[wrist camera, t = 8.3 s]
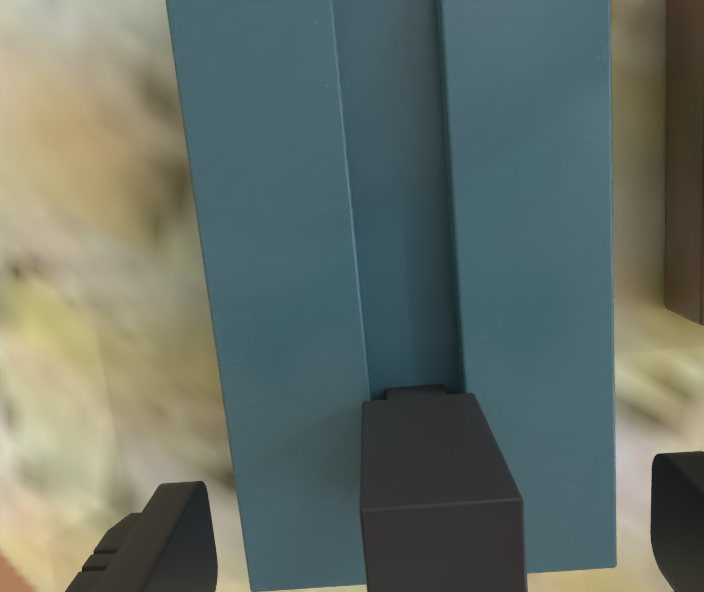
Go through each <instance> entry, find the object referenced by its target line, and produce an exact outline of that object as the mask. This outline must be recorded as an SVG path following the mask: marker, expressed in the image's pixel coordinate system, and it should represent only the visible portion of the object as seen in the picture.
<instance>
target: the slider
mask: <svg viewBox="0 0 704 592" xmlns="http://www.w3.org/2000/svg"><path fill="white" fill-rule="evenodd" d="M385 392H386V400H375V401H364V402H363V403H362V427H361V465H360V502H359V515H360V525H361V534H362V544H363V554H364V564H365V574H366V583H367V592H528V590H527V567H526V544H525V521H524V500H523V498H522V496H521V493H520V491H519V489H518V487H517V485H516V483H515V480H514V478H513V476H512V474H511V472H510V470H509V467H508V465H507V463H506V461H505V459H504V457H503V454H502V452H501V450H500V448H499V446H498V444H497V441H496V439H495V437H494V435H493V433H492V431H491V428H490V426H489V424H488V422H487V420H486V418H485V415H484V413H483V411H482V409H481V407H480V405H479V402H478V400H477V398H476V396H475V394H474V393H462V394H449V395H448V394H447V391H446V388H445V386H444V384H432V385H420V386H407V387H395V388H387V389H386V391H385Z"/></svg>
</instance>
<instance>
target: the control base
mask: <svg viewBox="0 0 704 592" xmlns="http://www.w3.org/2000/svg"><path fill="white" fill-rule="evenodd" d="M166 7H167V14H168V21H169V28H170V35H171V42H172V49H173V56H174V63H175V70H176V77H177V83H178V90H179V97H180V104H181V111H182V118H183V125H184V132H185V139H186V146H187V153H188V160H189V167H190V174H191V180H192V187H193V194H194V201H195V208H196V215H197V222H198V229H199V236H200V243H201V250H202V257H203V264H204V270H205V277H206V284H207V291H208V298H209V305H210V312H211V319H212V326H213V333H214V340H215V347H216V354H217V361H218V367H219V374H220V381H221V388H222V395H223V402H224V409H225V416H226V423H227V430H228V437H229V444H230V451H231V458H232V464H233V471H234V478H235V485H236V492H237V499H238V506H239V513H240V520H241V527H242V534H243V541H244V548H245V554H246V561H247V568H248V575H249V582H250V589H251V591H252V592H261V591H275V590H290V589H305V588H320V587H335V586H350V585H364V584H367V583H366V574H365V564H364V554H363V544H362V534H361V525H360V515H359V502H360V465H361V427H362V403H363V402H364V401H375V400H386V392H385V391H386V389H387V388H395V387H407V386H420V385H432V384H444V386H445V388H446V391H447V394H448V395H449V394H462V393H474V394H475V396H476V398H477V400H478V402H479V405H480V407H481V409H482V411H483V413H484V415H485V418H486V420H487V422H488V424H489V426H490V428H491V431H492V433H493V435H494V437H495V439H496V441H497V444H498V446H499V448H500V450H501V452H502V454H503V457H504V459H505V461H506V463H507V465H508V467H509V470H510V472H511V474H512V476H513V478H514V480H515V483H516V485H517V487H518V489H519V491H520V493H521V496H522V498H523V500H524V521H525V544H526V567H527V573H541V572H556V571H571V570H586V569H601V568H614V567H616V565H617V555H616V466H615V376H614V286H613V197H612V107H611V17H610V0H166Z"/></svg>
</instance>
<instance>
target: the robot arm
mask: <svg viewBox="0 0 704 592" xmlns="http://www.w3.org/2000/svg"><path fill="white" fill-rule="evenodd" d="M651 544H652V549H653V553H654V557H655V560H656V562H657V565H658V567H659V569H660V571H661V573H662V574H663V576H664V577H665V578H666V580H667V581H668V583H669V584H670V586H671V587H672V589H673V590H674V591H675V592H704V452H703V451H695V452H679V453H663V454H657V455H656V456H655V457H654V460H653V464H652V487H651ZM217 573H218V563H217V553H216V546H215V540H214V533H213V526H212V519H211V512H210V505H209V499H208V492H207V488H206V486H205V484H204V482H202V481H195V482H179V483H163V484H161V485H159V487H158V488H157V489H156V491H155V493H154V494H153V496H152V497H151V499H150V500H149V502H148V504H147V505H146V507H145V508H144V510H143V511H142V513H131V514H129V515H128V516H127V517H125V518H124V519H123V520H121V521H120V522H119V523H117V524H116V525H115V526H113V527H112V528H111V529H109V530H108V531H107V532H106V534H105V535H104V537H103V538H102V540H101V541H100V542H99V544H98V545H97V547H96V548H95V550H94V554H93V555H90V557H89V558H88V560H87V561H86V562H85V564H84V565H83V567H82V572H78V574H77V575H76V577H75V578H74V580H73V581H72V582H71V584H70V585H69V587H68V588H67V590H66V591H65V592H215V590H216V585H217Z"/></svg>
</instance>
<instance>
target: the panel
mask: <svg viewBox="0 0 704 592" xmlns="http://www.w3.org/2000/svg"><path fill="white" fill-rule="evenodd" d="M666 308H667V309H668V310H670V311H672V312H674V313H677V314H679V315H681V316H683V317H685V318H687V319H689V320H691V321H693V322H695V323H697V324H699V325H702V326H704V0H667V155H666Z"/></svg>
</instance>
